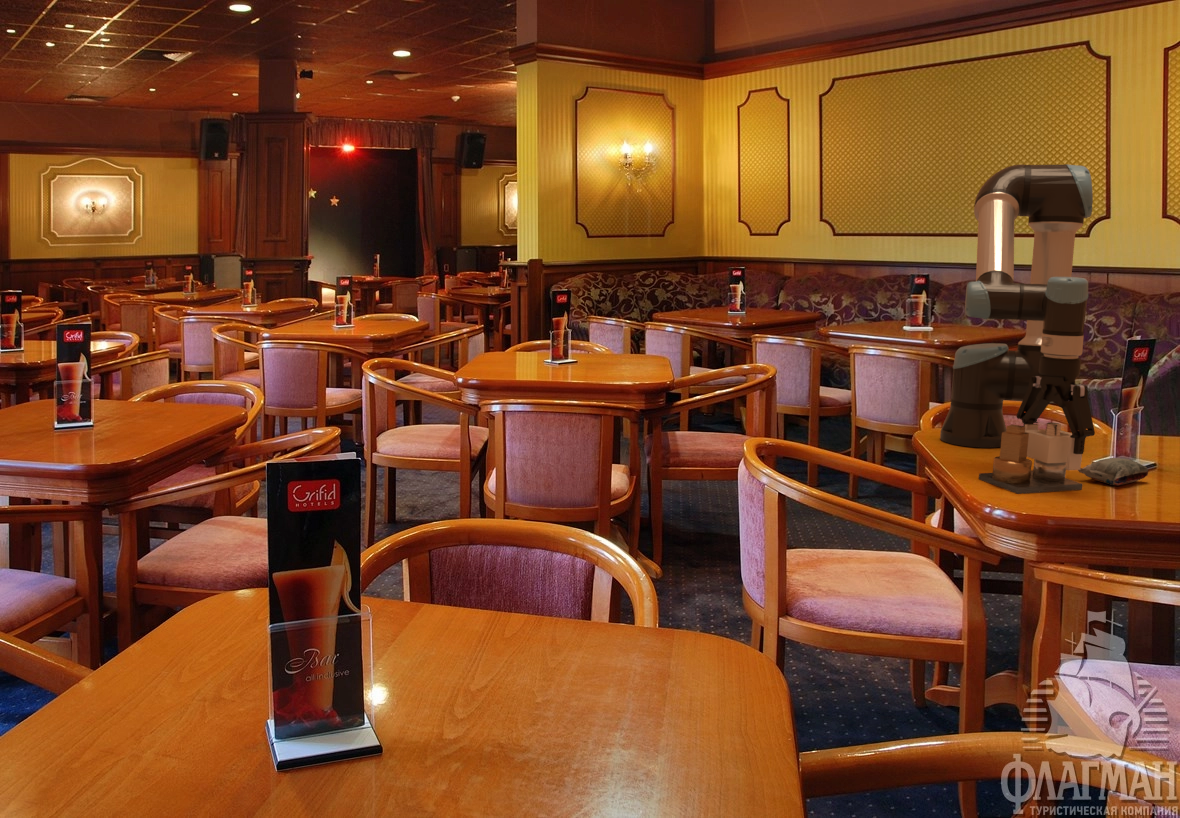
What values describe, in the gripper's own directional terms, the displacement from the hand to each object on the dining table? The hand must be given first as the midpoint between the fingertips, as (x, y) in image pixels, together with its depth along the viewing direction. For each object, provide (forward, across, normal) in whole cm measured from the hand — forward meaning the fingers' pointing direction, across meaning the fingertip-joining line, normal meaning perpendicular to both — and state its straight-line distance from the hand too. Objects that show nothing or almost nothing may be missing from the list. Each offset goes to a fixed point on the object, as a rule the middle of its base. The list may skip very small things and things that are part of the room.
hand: (1050, 462), depth 217 cm
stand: (+3, 0, 0) cm, 3 cm away
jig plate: (+4, 0, -4) cm, 6 cm away
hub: (+3, 0, -9) cm, 9 cm away
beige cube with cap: (-1, 0, 0) cm, 1 cm away
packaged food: (+5, +1, +14) cm, 15 cm away
